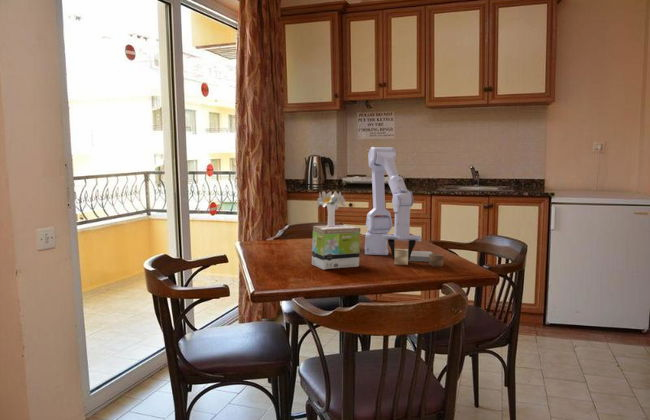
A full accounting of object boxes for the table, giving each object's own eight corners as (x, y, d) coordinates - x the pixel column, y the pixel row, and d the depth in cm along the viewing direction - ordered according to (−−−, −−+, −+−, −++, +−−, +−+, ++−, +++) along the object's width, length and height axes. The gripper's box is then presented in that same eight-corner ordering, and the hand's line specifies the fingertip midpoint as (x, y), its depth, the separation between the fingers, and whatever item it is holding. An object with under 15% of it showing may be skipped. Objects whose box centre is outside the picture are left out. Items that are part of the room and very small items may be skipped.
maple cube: (394, 264, 190) (394, 251, 189) (394, 261, 195) (394, 248, 194) (407, 264, 189) (408, 251, 189) (407, 262, 194) (407, 249, 193)
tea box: (323, 270, 178) (324, 229, 177) (311, 265, 187) (311, 225, 185) (360, 266, 185) (361, 226, 184) (346, 261, 194) (347, 223, 192)
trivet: (404, 260, 196) (404, 255, 196) (404, 255, 207) (404, 250, 207) (433, 261, 195) (433, 256, 194) (431, 256, 206) (431, 251, 205)
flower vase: (342, 242, 236) (343, 189, 233) (346, 250, 218) (347, 192, 215) (314, 242, 235) (315, 189, 233) (316, 250, 217) (316, 192, 214)
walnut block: (432, 266, 187) (433, 255, 187) (429, 264, 191) (429, 253, 190) (443, 266, 187) (443, 255, 187) (439, 264, 191) (439, 253, 191)
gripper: (382, 224, 187) (381, 260, 189) (422, 225, 185) (421, 262, 187) (382, 222, 194) (382, 257, 196) (421, 223, 192) (420, 258, 194)
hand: (401, 259), depth 192 cm, fingers closed on maple cube, 5 cm apart
